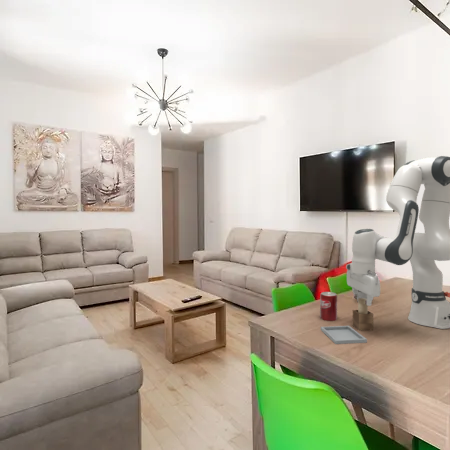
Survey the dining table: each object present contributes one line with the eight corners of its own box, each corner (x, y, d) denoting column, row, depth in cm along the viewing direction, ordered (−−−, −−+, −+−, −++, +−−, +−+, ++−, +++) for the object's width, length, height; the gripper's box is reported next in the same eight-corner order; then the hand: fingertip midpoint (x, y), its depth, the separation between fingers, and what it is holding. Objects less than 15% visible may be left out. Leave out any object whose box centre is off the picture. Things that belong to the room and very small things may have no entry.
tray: (348, 330, 132) (348, 325, 132) (366, 344, 118) (367, 339, 118) (320, 331, 131) (320, 326, 131) (335, 346, 117) (335, 340, 117)
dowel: (364, 326, 134) (364, 297, 134) (369, 329, 131) (369, 300, 130) (356, 326, 134) (356, 298, 133) (360, 329, 130) (361, 300, 130)
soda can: (326, 323, 140) (326, 296, 139) (317, 318, 147) (317, 292, 146) (340, 321, 142) (340, 295, 141) (330, 316, 149) (331, 291, 148)
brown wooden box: (365, 326, 136) (365, 309, 135) (373, 332, 130) (373, 313, 129) (352, 327, 135) (352, 310, 135) (359, 332, 129) (359, 314, 129)
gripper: (385, 273, 121) (384, 309, 122) (357, 264, 141) (357, 295, 142) (369, 273, 121) (368, 309, 121) (344, 264, 141) (343, 295, 141)
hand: (362, 301), depth 132 cm, fingers open, 8 cm apart
